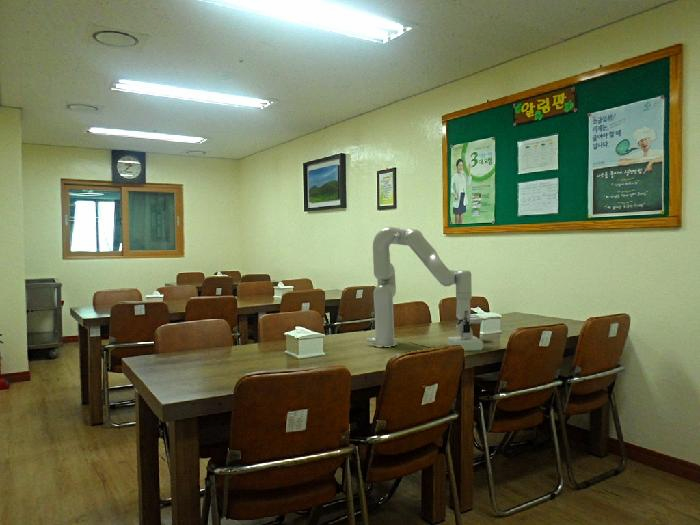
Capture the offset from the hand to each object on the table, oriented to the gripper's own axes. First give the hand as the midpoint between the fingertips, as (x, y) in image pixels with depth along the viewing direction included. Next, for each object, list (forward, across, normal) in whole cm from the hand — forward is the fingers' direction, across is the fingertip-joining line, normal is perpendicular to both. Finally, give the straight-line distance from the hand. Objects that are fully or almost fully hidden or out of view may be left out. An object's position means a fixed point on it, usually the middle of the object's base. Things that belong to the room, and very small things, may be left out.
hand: (464, 330), depth 260 cm
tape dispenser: (+4, 0, 0) cm, 4 cm away
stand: (+8, 0, 0) cm, 8 cm away
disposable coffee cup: (+8, -15, +8) cm, 19 cm away
